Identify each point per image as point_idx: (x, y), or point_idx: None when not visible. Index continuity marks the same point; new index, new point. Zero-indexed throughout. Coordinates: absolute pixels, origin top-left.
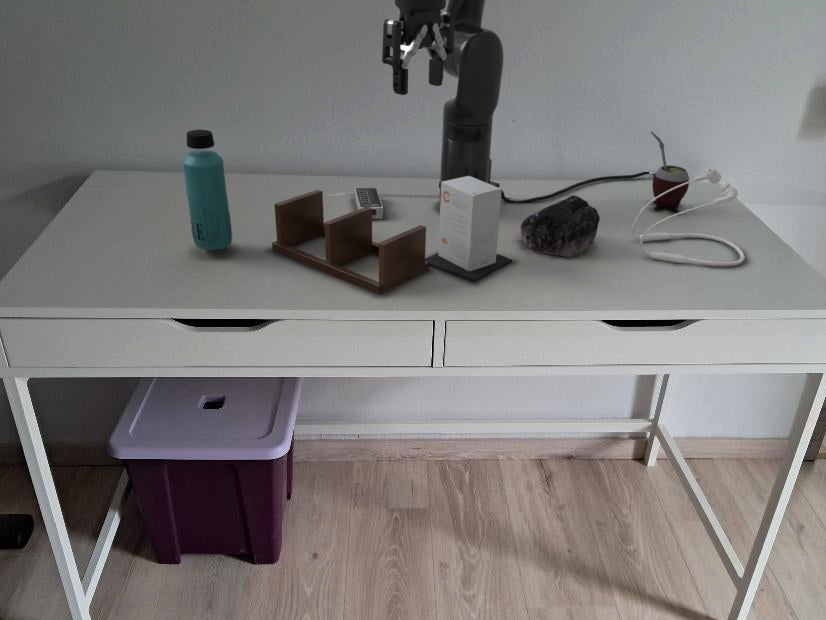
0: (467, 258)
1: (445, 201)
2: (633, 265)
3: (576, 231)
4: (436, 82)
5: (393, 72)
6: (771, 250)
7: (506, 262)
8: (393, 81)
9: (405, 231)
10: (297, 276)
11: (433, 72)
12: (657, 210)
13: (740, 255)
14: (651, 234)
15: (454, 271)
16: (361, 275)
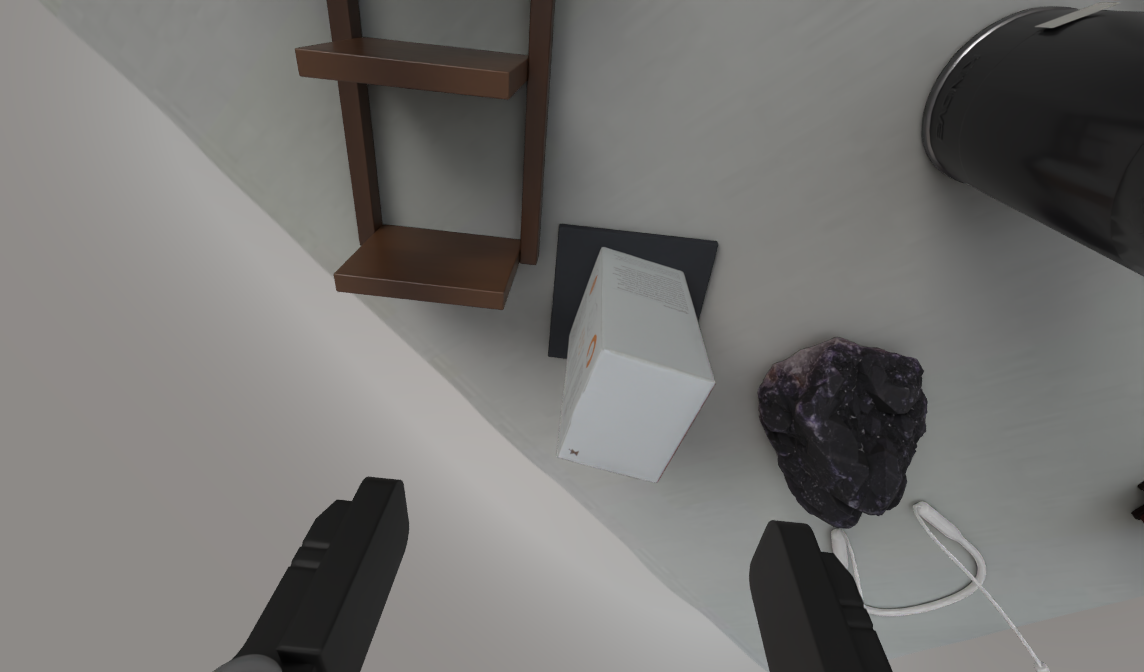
0: (568, 347)
1: (592, 339)
2: (790, 514)
3: (788, 482)
4: (757, 577)
5: (259, 625)
6: (958, 628)
7: None
8: (298, 557)
9: (439, 286)
10: (271, 2)
11: (786, 625)
12: (1139, 487)
13: (905, 610)
14: (933, 523)
15: (554, 311)
16: (364, 182)
